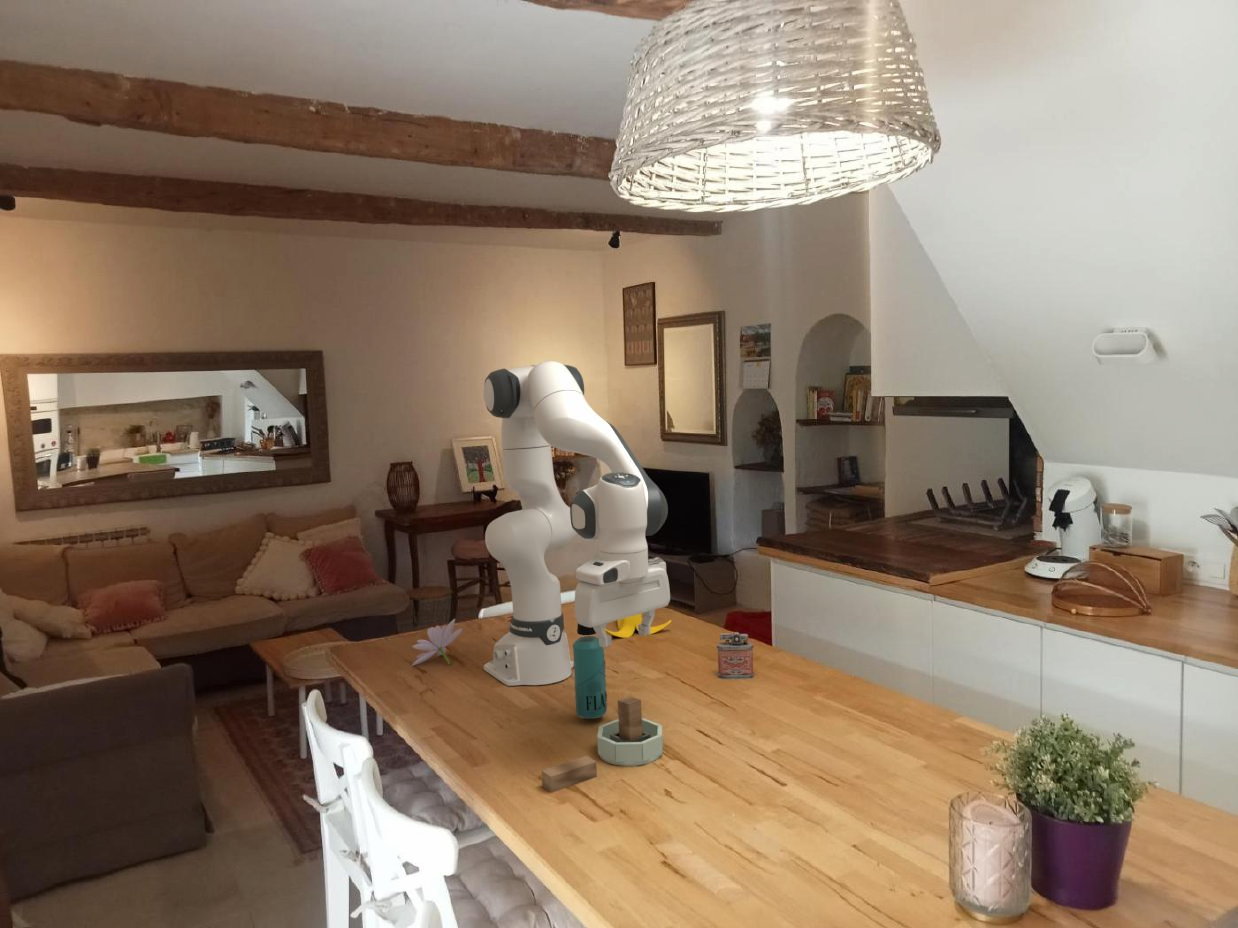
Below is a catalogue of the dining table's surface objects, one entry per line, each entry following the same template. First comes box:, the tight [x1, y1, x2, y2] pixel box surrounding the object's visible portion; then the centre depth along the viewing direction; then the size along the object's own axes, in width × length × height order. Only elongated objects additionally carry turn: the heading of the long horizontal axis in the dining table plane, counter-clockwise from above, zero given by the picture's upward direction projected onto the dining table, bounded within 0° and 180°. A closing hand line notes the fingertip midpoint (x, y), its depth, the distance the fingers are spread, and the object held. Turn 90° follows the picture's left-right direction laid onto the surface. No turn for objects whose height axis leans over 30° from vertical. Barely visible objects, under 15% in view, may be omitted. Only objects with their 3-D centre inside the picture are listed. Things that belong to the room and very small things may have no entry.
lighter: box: [716, 631, 755, 680], centre depth 199 cm, size 8×3×10 cm, turn 84°
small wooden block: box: [541, 755, 598, 793], centre depth 152 cm, size 9×3×3 cm, turn 125°
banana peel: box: [604, 613, 673, 639], centre depth 235 cm, size 17×19×17 cm
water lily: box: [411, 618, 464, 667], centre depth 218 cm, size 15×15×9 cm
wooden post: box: [617, 695, 643, 741], centre depth 162 cm, size 3×3×9 cm
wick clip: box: [610, 731, 651, 743], centre depth 162 cm, size 5×5×2 cm
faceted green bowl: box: [596, 717, 664, 767], centre depth 162 cm, size 12×12×4 cm
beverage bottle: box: [572, 622, 608, 719], centre depth 177 cm, size 6×7×20 cm
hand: (625, 640), depth 160 cm, fingers open, 8 cm apart
